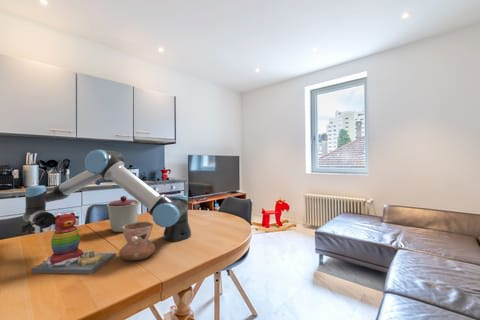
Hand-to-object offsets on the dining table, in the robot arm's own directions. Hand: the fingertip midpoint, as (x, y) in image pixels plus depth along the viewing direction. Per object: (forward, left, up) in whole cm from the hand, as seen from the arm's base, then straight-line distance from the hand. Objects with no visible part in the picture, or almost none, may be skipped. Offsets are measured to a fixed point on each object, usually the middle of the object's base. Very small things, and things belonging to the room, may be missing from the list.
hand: (59, 226), depth 94 cm
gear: (-6, +3, -13) cm, 15 cm away
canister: (-3, -42, -15) cm, 45 cm away
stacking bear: (-5, +3, -12) cm, 13 cm away
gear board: (-10, +3, -15) cm, 18 cm away
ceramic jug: (-32, -5, -15) cm, 36 cm away
